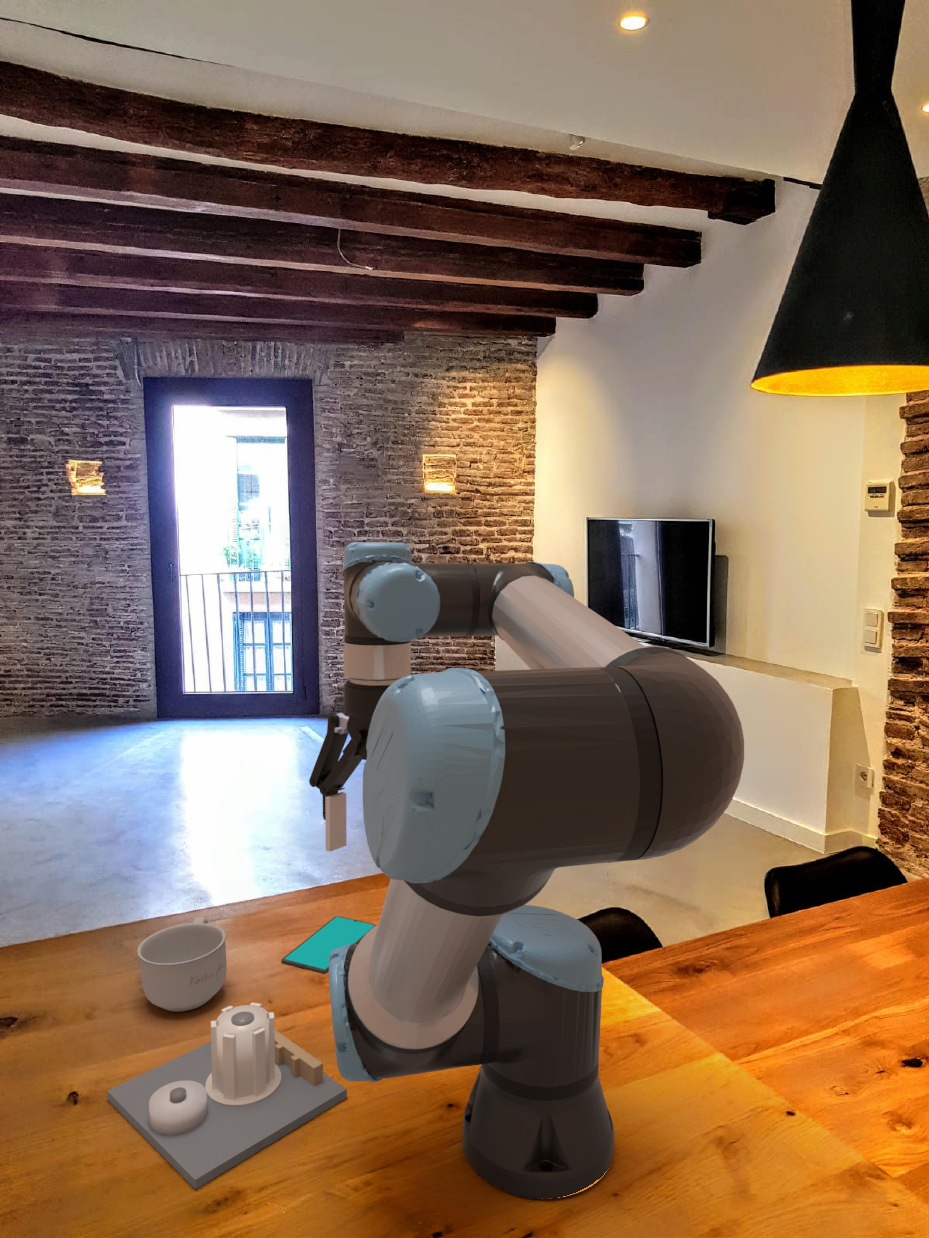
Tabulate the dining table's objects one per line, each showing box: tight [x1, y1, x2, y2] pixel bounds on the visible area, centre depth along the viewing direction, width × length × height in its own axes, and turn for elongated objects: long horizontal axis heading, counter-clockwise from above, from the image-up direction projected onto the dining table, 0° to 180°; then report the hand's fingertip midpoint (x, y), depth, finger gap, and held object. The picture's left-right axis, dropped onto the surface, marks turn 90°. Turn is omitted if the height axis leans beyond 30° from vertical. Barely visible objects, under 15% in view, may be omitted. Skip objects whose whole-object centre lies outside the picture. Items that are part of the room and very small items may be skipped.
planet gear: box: [210, 1002, 276, 1100], centre depth 94 cm, size 7×6×7 cm
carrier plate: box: [106, 1029, 348, 1190], centre depth 93 cm, size 18×18×4 cm
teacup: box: [136, 916, 227, 1013], centre depth 114 cm, size 14×11×8 cm
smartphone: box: [280, 915, 377, 975], centre depth 127 cm, size 7×1×15 cm
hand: (377, 861), depth 100 cm, fingers open, 13 cm apart
